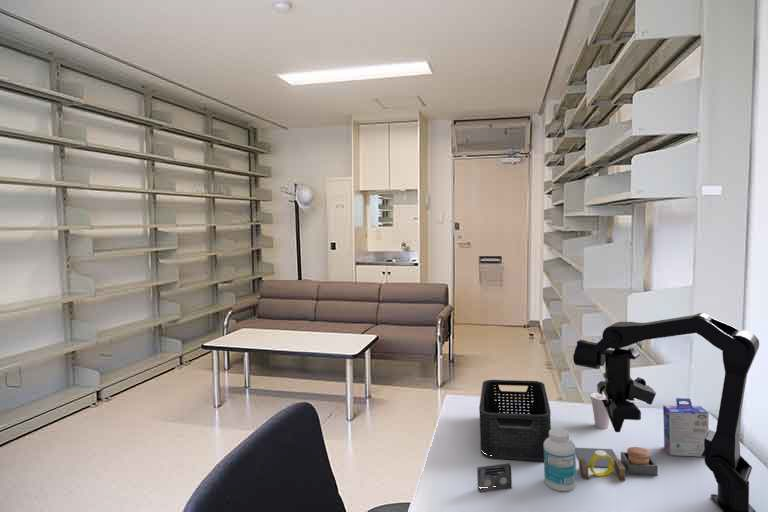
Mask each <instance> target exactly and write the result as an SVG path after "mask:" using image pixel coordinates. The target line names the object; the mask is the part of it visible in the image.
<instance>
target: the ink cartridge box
mask: <svg viewBox="0 0 768 512" xmlns="http://www.w3.org/2000/svg"><path fill="white" fill-rule="evenodd" d="M675 400H676V405H663V406H662V412H663V414H662V415H663V439H664V440H663V447H664V448H663V449H665V451H666V452H667V455H669V456H680V457H681V456H685V457H700V458H701V457H703V458H705V456H701V455H702V453H703V451H704V439H705V437H706V436H707V434H708V432H709V430H710V429H709V421H710V420H709V412H708V411H707V410H706V409H705V408H704V407H702V406H701V405H692V400H691V398H682V397H681V398H680V397H679V398H677V397H676V398H675ZM680 402H686V403H687V404H686V403H680Z"/></svg>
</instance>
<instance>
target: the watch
mask: <svg viewBox="0 0 768 512" xmlns="http://www.w3.org/2000/svg"><path fill="white" fill-rule="evenodd" d="M606 457H608V458H609V463H610V464H609V467H608V468H606V470H605V471H601V472H595V469H594V467H593V464H594V462H595V460H596V459H597V458H606ZM613 467H614V462H613V460H612V458H611V457H610V456H609V455H608V454H607V453H606V452H605V451H602V450H597V451H595V455H593V456H592V458H591V460H590V462H589V467H588V469H589V470H590V472H591V473H592V474H593V475H595V476H596V477H598V478H599V477H606V476H609V475H610V474H611V473H612V472H613V471H614V468H613Z"/></svg>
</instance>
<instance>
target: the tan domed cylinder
mask: <svg viewBox="0 0 768 512" xmlns="http://www.w3.org/2000/svg"><path fill="white" fill-rule="evenodd" d="M626 452H627V453H628V461H629V463H630V464H644V465H649V457H650V456H651V453H650V451H649V450H648V449H646V448H643V447H639V446H631V447H628V448H627V450H626Z"/></svg>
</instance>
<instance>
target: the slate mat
mask: <svg viewBox="0 0 768 512" xmlns="http://www.w3.org/2000/svg"><path fill="white" fill-rule="evenodd" d="M597 450H602V451H605V452H606V453H607V454H608V455H609V456H610V457H611V458H612V460H613V462H614V459H619V458H618V456H617V455H616V453H615V451H614V450H613V448H599V447H597V448H596V447H595V448H594V447H575V455H576V457H578V458H577V459H579V458H584V459H585V461H586V464H587V466H588V468H589V462H590V460H591V458H592V456H593V455H595V451H597ZM609 464H610V463H609V458H608V457H606V458H597V459H596V460H595V462H594V464H593V468H602V469H603V468H606V469H608V467H609ZM613 469H614V467H613Z"/></svg>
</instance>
